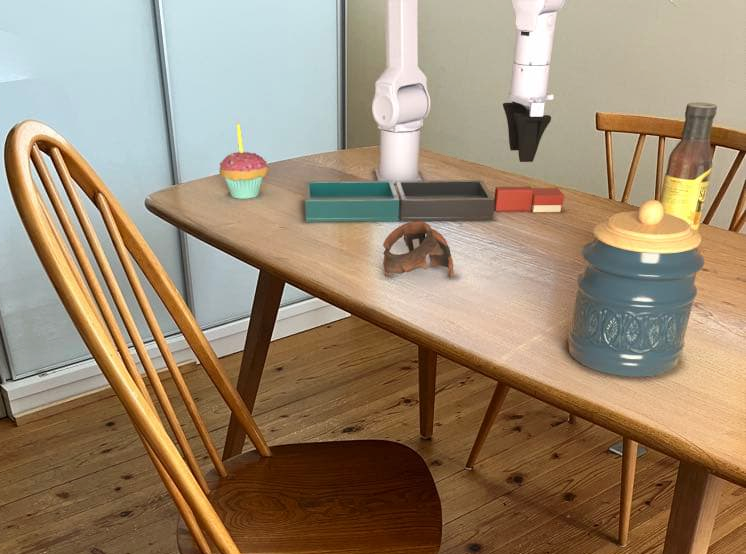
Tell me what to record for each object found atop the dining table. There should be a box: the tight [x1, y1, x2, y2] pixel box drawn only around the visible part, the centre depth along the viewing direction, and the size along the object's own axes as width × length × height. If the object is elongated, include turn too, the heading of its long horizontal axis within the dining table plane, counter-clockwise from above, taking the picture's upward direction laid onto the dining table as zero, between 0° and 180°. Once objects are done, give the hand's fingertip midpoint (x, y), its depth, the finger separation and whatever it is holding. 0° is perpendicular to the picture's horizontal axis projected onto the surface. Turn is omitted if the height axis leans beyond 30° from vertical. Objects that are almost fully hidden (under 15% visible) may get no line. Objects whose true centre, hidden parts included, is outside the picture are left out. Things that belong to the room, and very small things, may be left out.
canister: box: [567, 199, 705, 378], centre depth 101 cm, size 13×13×18 cm
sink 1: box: [304, 180, 400, 223], centre depth 150 cm, size 12×15×3 cm
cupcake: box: [218, 119, 269, 200], centre depth 155 cm, size 9×8×12 cm
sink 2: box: [394, 179, 495, 222], centre depth 151 cm, size 12×15×3 cm
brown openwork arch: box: [382, 220, 455, 279], centre depth 126 cm, size 12×10×8 cm
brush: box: [493, 186, 565, 213], centre depth 152 cm, size 5×11×3 cm, turn 92°
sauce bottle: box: [659, 102, 718, 233], centre depth 131 cm, size 7×6×20 cm
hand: (521, 155), depth 148 cm, fingers open, 7 cm apart
